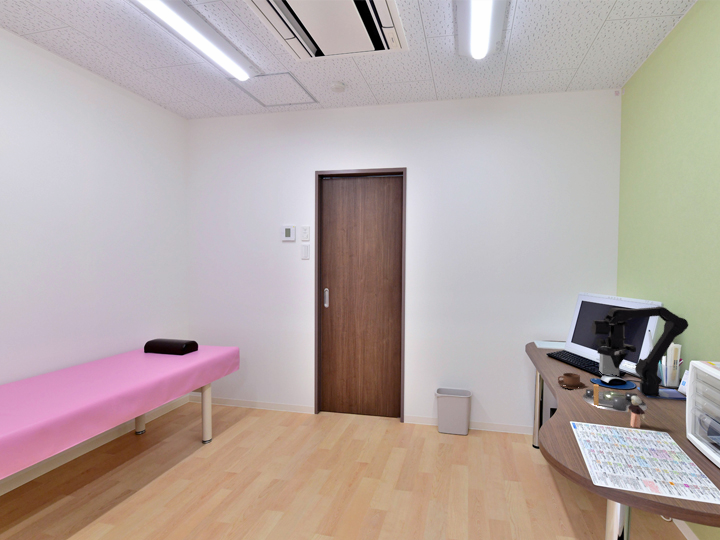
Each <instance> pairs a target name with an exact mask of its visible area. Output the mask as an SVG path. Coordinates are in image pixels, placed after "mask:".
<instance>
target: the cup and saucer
mask: <svg viewBox="0 0 720 540" xmlns="http://www.w3.org/2000/svg"><path fill="white" fill-rule="evenodd" d="M560 378H562V379H560ZM557 381H558V382H557V383H558V385H559V386H560V387H563V388H565V389H567V388H568V390H574V389H575V390H580V389H585V388H586V383H584V382H582V381H581V375H579V374H577V373H574V372H573V373H572V372H565V373H562V375H559V376H558V377H557ZM563 385H566V386H563ZM578 387H579V388H578Z"/></svg>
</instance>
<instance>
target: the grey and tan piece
mask: <svg viewBox="0 0 720 540" xmlns="http://www.w3.org/2000/svg"><path fill="white" fill-rule="evenodd" d="M593 390H594V405H597V406H598V405H599V404H606V405H612V406H613V408H614V409H617V410H627V399H625V398H622V397H613V401H612V400H605V399H599V392H600V389H599V384H597V383H596V384H595V383H594V384H593ZM594 405H593V406H594ZM597 406H596V407H597Z"/></svg>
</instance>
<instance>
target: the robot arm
mask: <svg viewBox="0 0 720 540" xmlns="http://www.w3.org/2000/svg"><path fill="white" fill-rule="evenodd" d="M645 317H646V318H648V317H651V318H652V317H659V318H660V319H661V320H662V321H664V325H663V332H662V334H661V335H660V337H659V338H658V339H657V341H656V343H655V344H654V345H653V348H652V349H651V351H650V352H649V354H648V356H647V357H646V358H643V359H642V358H639V359H638V361H637V363H636V364H635V365H634V366H635V368H634V369H635V372H636V375H638V376H639V379H640V382H639V392H640V393H641V394H642V395H643V396H648V397H661V394H660V385H661V383H662V380H663V379H662V378H661V377H660V376H658V375H657V374H658V370H659V363H660V361H661V360H662V358H663V357H664V355H665V354H666V352H667V351H668V349H669V347H670V346H671V344H672V343H673V342H674V340H676V339H675V338H677V337H678V336H679V335H682V334H683V333H684V332H685V331H686V330H687V329H688V327H689V323H688V320H687V319H685V318H683V317H680V316H679V315H677V314H676V313H674V312H672V311H670V310H669V309H668V308H666V307H664V306H659V305H658V306H655V307H652V306H651V307H641V308H622V307H611V308H610V309H609V310H608V313H607V315H606V316H605V317H604V318H603V320H598V319H593V320H592V323H591V326H590V330H591V333H592V335H594V336H595V335H597V336H599V335H603V336H607V335H609V336H607V337H606V339H602V337H601V338H596V341H595V344H596V346H598V348H597V350H596V351H597V354H599V355H600V354H603V355H607V356H611V358H612V361H613V363H614V366H615V368H618V367H619V368H620V365H621V364H622V363H623V361H624V359H625V358H626V356H628V353H626V352H625V351H629V352H630V353H636V352H637V348H636V346H635V345H633V344H628V343H625V341H626V340H627V338H626V337H625V327H630V324H629V323H628V322H627V321H628V320H632V319H635V318H636V319H637V318H645ZM607 347H610V348H607Z"/></svg>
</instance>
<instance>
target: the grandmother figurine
mask: <svg viewBox="0 0 720 540" xmlns="http://www.w3.org/2000/svg"><path fill="white" fill-rule="evenodd" d="M631 399H632V404H631V405H630V406H629V407H628V410H627V411H628V412H627V413H630V427H631V426H632V428H639V429H640V428H641V417H642V419H644V420H646V419H647V417H646V414H645V413H646V412H644V411H645V410H644V411H643V410H642V409H641V408H640V407H639V406H638V405H639V404H640V403H642V402H643V401H642V399H641V398H640V397H639V396H638V395H637V396H632V397H631Z"/></svg>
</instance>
